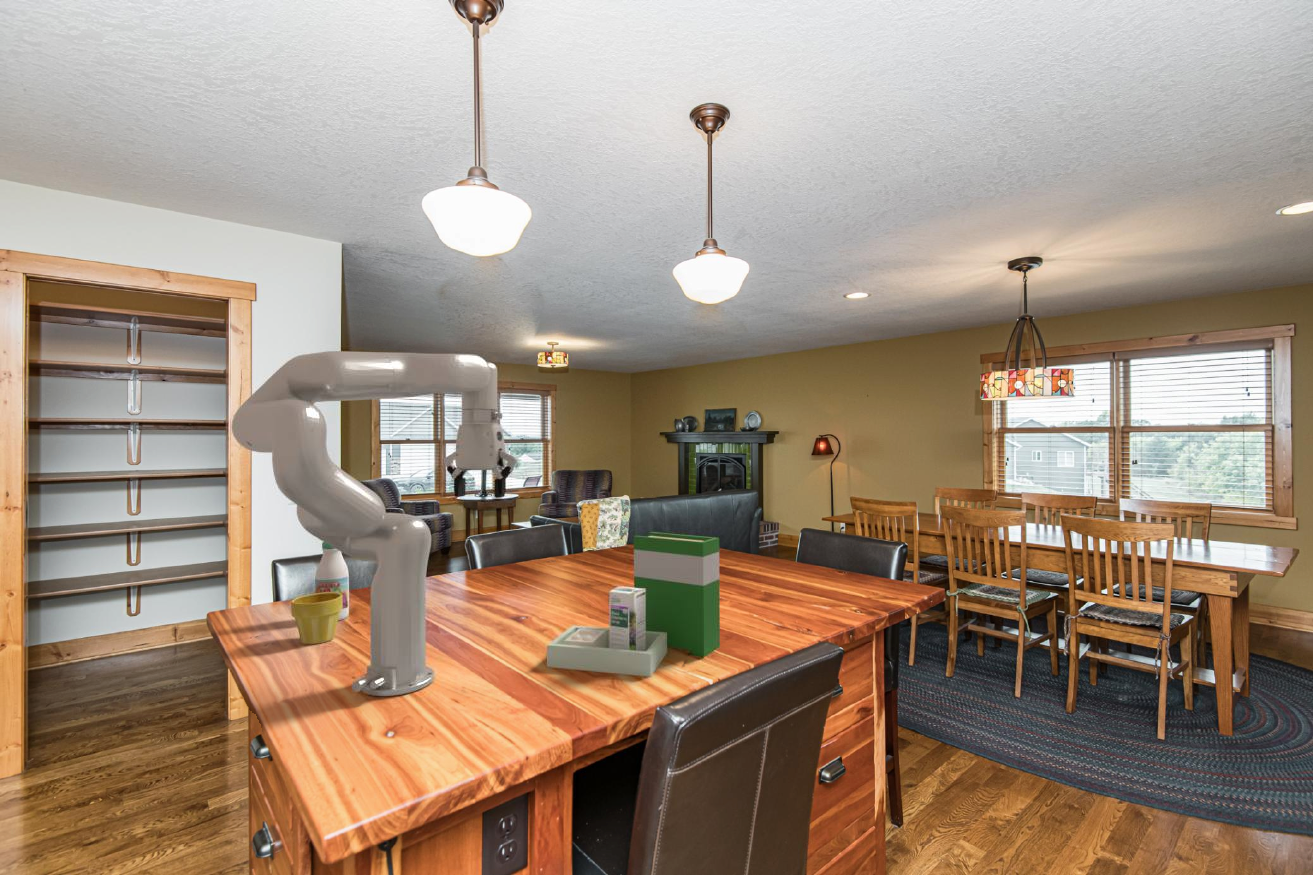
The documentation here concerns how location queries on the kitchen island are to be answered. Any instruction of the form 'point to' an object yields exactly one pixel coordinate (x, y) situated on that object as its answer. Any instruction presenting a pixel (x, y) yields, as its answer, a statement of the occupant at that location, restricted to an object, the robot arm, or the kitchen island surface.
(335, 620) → the plant pot
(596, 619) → the kitchen island surface
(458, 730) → the kitchen island surface
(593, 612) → the kitchen island surface
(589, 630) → the white toy brick
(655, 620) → the hardback book
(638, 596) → the syrup box
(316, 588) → the milk bottle
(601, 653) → the tote
